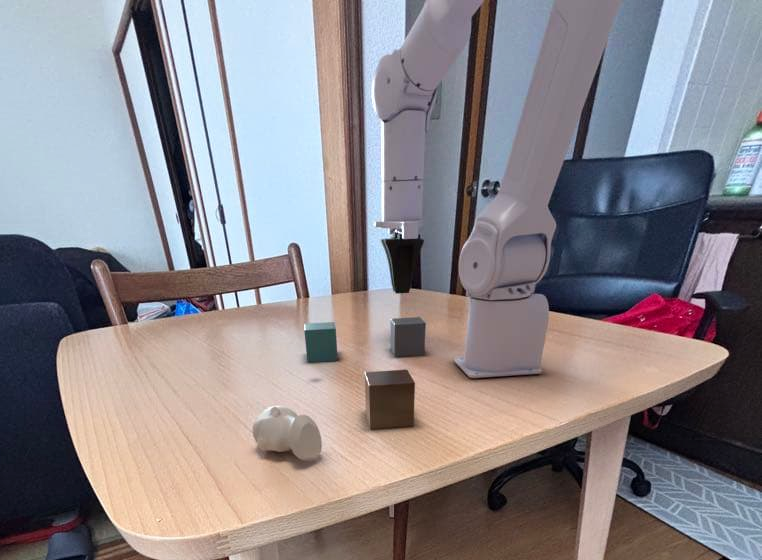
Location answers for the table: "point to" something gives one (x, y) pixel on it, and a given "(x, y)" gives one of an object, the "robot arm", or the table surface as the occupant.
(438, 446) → the table surface
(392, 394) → the walnut block
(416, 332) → the grey block
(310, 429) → the smooth white sculpture
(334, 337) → the teal block
